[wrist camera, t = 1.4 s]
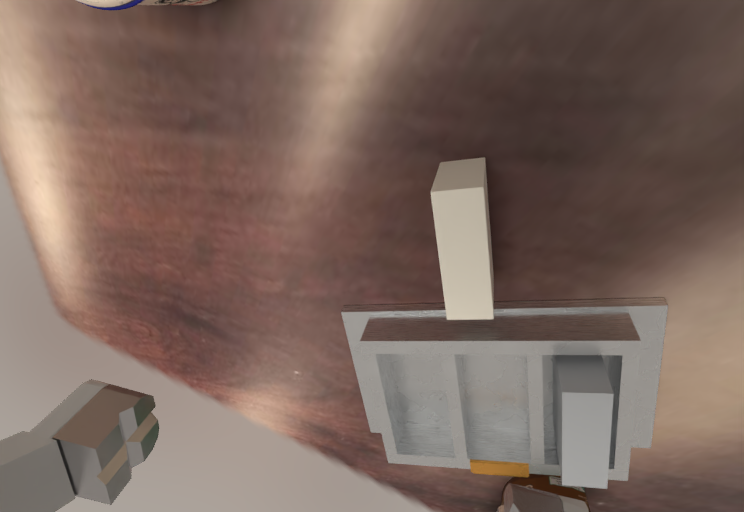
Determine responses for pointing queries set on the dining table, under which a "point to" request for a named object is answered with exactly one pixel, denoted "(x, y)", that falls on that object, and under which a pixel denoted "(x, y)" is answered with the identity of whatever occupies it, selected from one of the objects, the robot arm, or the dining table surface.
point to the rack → (501, 379)
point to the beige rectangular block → (464, 238)
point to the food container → (549, 486)
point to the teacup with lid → (138, 3)
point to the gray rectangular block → (582, 419)
